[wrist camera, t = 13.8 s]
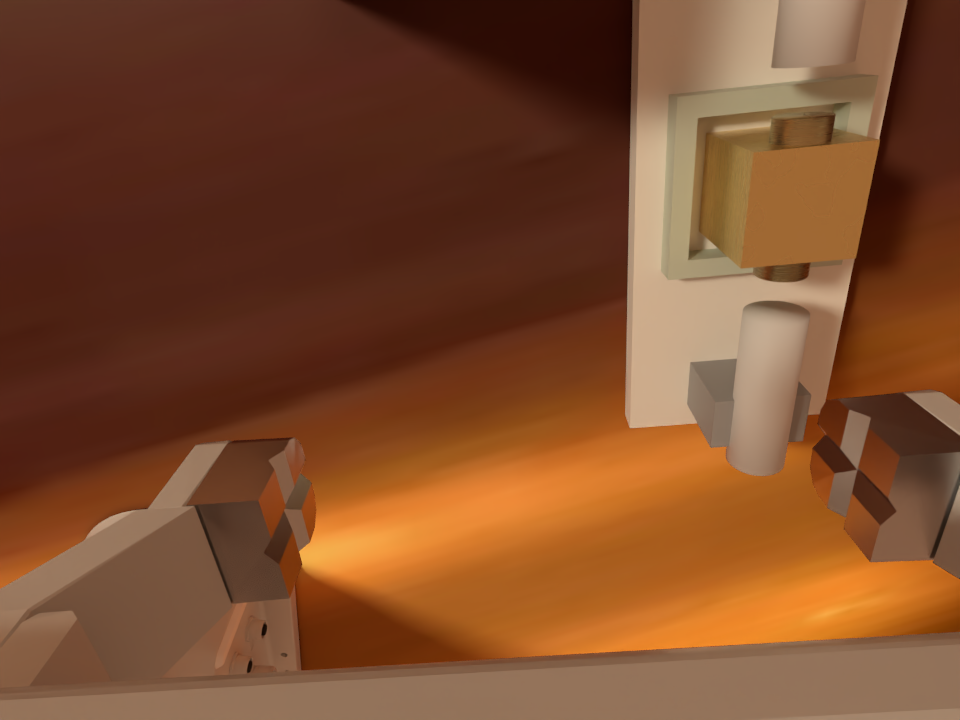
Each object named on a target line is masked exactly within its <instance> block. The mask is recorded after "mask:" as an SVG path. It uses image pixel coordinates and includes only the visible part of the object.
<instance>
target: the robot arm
mask: <svg viewBox="0 0 960 720" xmlns="http://www.w3.org/2000/svg"><path fill="white" fill-rule="evenodd" d="M818 425H819V427H820V428H821V430H822V431H823V432H824V434H825V436H824V437H823V438H822V439H821V440H820V441H819V442H818V443H817V444H816V445H815V446H814V447H813V449H812V456H811V462H810V470H811V476H812V483H813V485H814V488H815V490H816V492H817V494H818V496H819V498H820V499H821V500H822V502H823V503H824V504H825V506H826V507H827V508H828V509H830V510H832V511H834V512H836V513H838V514H840V515H842V516H844V517H846V520H845V524H844V530H845V531H846V532H847V534H848V535H849V536H850V537H851V539H852V540H853V541H854V542H855V544H856V545H857V546H858V547H859V549H860V550H861V551H862V552H863V554H864V555H865V556H866V557H867V559H868V560H869V561H870V562H887V561H915V560H934V561H933V563H934V564H936V565H938V566H939V567H941V568H942V569H944V570H946V571H947V572H949V573H951V574H952V575H954V576H955V577H957V578H959V579H960V405H959V404H958V403H956V402H955V401H953V400H952V399H951V398H949V397H948V396H946V395H945V394H943V393H942V392H938V391H934V390H920V391H911V392H902V393H895V394H885V395H874V396H864V397H853V398H843V399H833V400H826V402H825V403H824V405H823V407H822V408H821V410H820V415H819V419H818ZM305 461H306V460H305V456H304V453H303V450H302V446H301V443H300V442H299V441H298V440H297V439H296V438H276V439H256V440H237V441H219V442H208V443H202V444H198V445H196V446H195V447H194V448H193V449H192V451H191V452H190V453H189V455H188V456H187V457H186V459H185V460H184V461H183V463H182V464H181V465H180V467H179V468H178V469H177V471H176V472H175V473H174V475H173V476H172V477H171V479H170V480H169V481H168V483H167V484H166V485H165V487H164V488H163V489H162V491H161V492H160V493H159V495H158V496H157V497H156V499H155V500H154V501H153V503H152V504H151V505H150V507H149V508H148V509H142V510H133V511H128V512H123V513H120V514H117V515H114V516H112V517H109V518H107V519H105V520H104V521H102V522H101V523H99V524H98V525H97V526H95V527H94V528H93V529H92V530H91V532H90V533H89V534H88V536H87V537H86V539H85V540H84V541H83V542H81V543H79V544H77V545H76V546H74V547H72V548H70V549H69V550H67V551H65V552H64V553H62V554H60V555H58V556H57V557H55V558H53V559H51V560H50V561H48V562H46V563H45V564H43V565H41V566H39V567H38V568H36V569H34V570H33V571H31V572H29V573H27V574H26V575H24V576H22V577H20V578H19V579H17V580H15V581H14V582H12V583H10V584H8V585H7V586H5V587H3V588H1V589H0V720H960V632H951V633H934V634H917V635H900V636H883V637H865V638H848V639H831V640H814V641H797V642H780V643H762V644H745V645H727V646H710V647H692V648H675V649H657V650H640V651H622V652H605V653H587V654H570V655H552V656H535V657H518V658H501V659H485V660H468V661H452V662H435V663H419V664H402V665H385V666H369V667H352V668H336V669H319V670H302V671H301V658H300V645H299V632H298V619H297V606H296V593H295V583H296V580H297V577H298V574H299V571H300V569H301V566H302V561H301V558H300V554H299V551H300V550H301V549H302V548H303V547H305V546H306V545H307V544H308V543H309V542H310V540H311V537H312V534H313V531H314V528H315V518H316V503H315V494H314V490H313V486H312V483H311V482H310V481H309V480H308V479H306V478H305V477H304V476H303V475H302V474H301V473H300V472H301V470H302V468H303V465H304V463H305Z"/></svg>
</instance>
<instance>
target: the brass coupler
mask: <svg viewBox="0 0 960 720" xmlns="http://www.w3.org/2000/svg"><path fill="white" fill-rule="evenodd" d="M835 117H836V114H835V113H831V112H794V113H785V114H779V115H775V116H772V118H771V126H769V127H759V128H749V129H740V130H730V131H720V132H711V133H706V143H705V157H704V170H703V183H702V197H701V210H700V224H699V232H700V233H701V234H703V235H704V236H705V237H706V238H707V239H708V240H709V241H710V242H712V243H713V244H714V245H715V246H716V247H717V248H718V249H719V250H721V251H722V252H723V253H724V254H725V255H726V256H727V257H728V258H729V259H731V260H732V261H733V262H734V263H735V264H736V265H737V266H738V267H740V268H741V269H742V268H753V274H754V275H755V276H756V277H758V278H760V279H763V280H767V281H772V282H797V281H801V280H804V279H806V278H807V277H808V276H809V271H810V265H811V262H820V261H831V260H843V259H854V258H856V255H857V250H858V245H859V240H860V235H861V231H862V226H863V221H864V216H865V211H866V206H867V201H868V196H869V192H870V187H871V182H872V177H873V172H874V167H875V162H876V158H877V153H878V148H879V143H880V140H879V139H875V138H871V137H867V136H863V135H859V134H855V133H851V132H847V131H843V130H838V129H834V123H835Z"/></svg>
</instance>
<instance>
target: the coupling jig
mask: <svg viewBox="0 0 960 720" xmlns="http://www.w3.org/2000/svg"><path fill="white" fill-rule="evenodd" d="M906 5H907V0H633V10H632V67H631V123H630V180H629V236H628V293H627V349H626V406H625V416H626V418H627V421H628V424H629V427H630V428H640V427H653V426H667V425H680V424H694V423H698V425H699V427H700V429H701V431H702V432H703V434H704V436H705V438H706V440H707V442H708V443H709V445H710V447H711V448H712V447H726V446H727V449H726V459H727V461H728V462H729V463H730V465H732V466H733V467H734V468H736V469H737V470H739V471H741V472H744V473H747V474H750V475H756V476H768V475H773V474H776V473H778V472H779V471H781V470H782V469H783V467H784V462H785V457H786V451H787V445H788V442H795V441H803V437H804V432H805V427H806V422H807V416H808V415H815V414H820V410H821V408H822V407H823V405H824V403H825V401H826V396H827V391H828V386H829V381H830V376H831V372H832V367H833V362H834V357H835V352H836V347H837V342H838V337H839V332H840V328H841V323H842V318H843V313H844V308H845V303H846V298H847V293H848V288H849V284H850V279H851V274H852V269H853V264H854V259H855V258H854V259H843V260H831V261H820V262H811V265H810V271H809V276H808V277H807V278H806V279H804V280H801V281H797V282H772V281H767V280H763V279H760V278H758V277H756V276H755V275H754V274H753V268H742V269H741V268H740V267H738V266H737V265H736V264H735V263H734V262H733V261H732V260H731V259H729V258H728V257H727V256H726V255H725V254H724V253H723V252H722V251H721V250H719V249H718V248H717V247H716V246H715V245H714V244H713V243H712V242H710V241H709V240H708V239H707V238H706V237H705V236H704V235H703V234H701V233H700V232H699V224H700V210H701V197H702V183H703V170H704V157H705V143H706V133H711V132H720V131H730V130H740V129H749V128H759V127H769V126H771V118H772V116H775V115H779V114H785V113H794V112H831V113H835V114H836V117H835V123H834V129H838V130H843V131H847V132H851V133H855V134H859V135H863V136H867V137H871V138H875V139H879V137H880V132H881V127H882V122H883V117H884V112H885V108H886V103H887V98H888V93H889V88H890V83H891V78H892V73H893V68H894V64H895V59H896V54H897V49H898V44H899V39H900V34H901V29H902V24H903V20H904V15H905V10H906Z"/></svg>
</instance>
